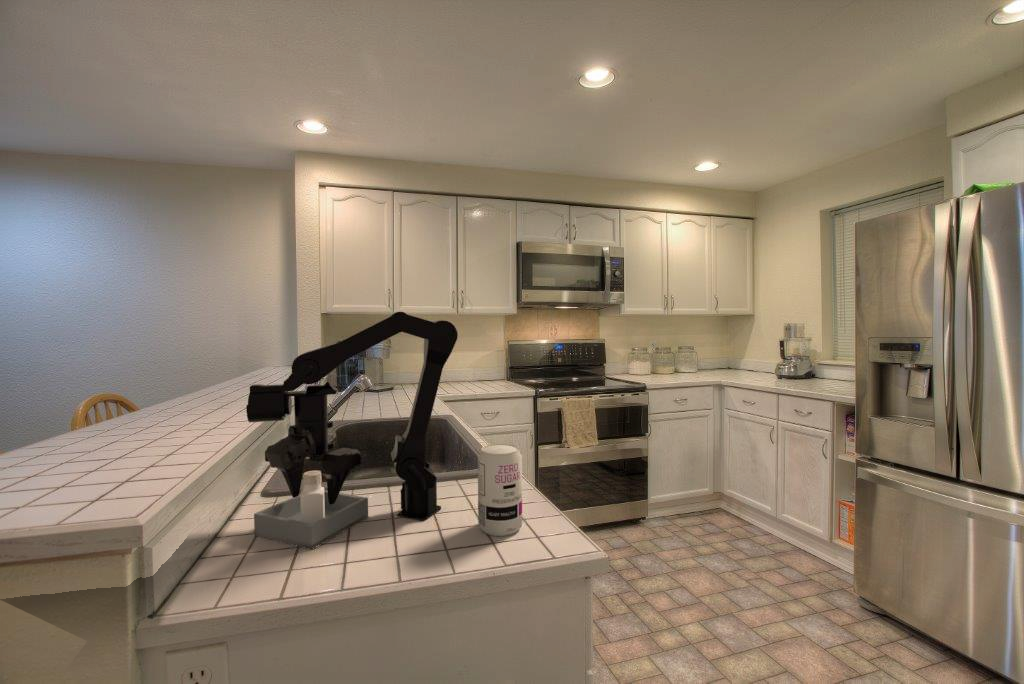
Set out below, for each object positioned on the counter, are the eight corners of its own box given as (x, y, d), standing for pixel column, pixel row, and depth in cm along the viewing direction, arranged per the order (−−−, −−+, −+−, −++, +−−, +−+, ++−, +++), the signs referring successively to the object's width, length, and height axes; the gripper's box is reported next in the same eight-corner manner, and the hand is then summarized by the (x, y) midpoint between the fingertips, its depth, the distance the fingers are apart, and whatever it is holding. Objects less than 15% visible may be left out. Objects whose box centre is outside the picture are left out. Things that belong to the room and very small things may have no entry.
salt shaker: (324, 525, 86) (323, 475, 86) (300, 528, 85) (299, 477, 84) (324, 516, 90) (323, 468, 90) (302, 519, 89) (301, 471, 88)
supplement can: (496, 515, 92) (495, 440, 92) (530, 525, 88) (530, 447, 87) (469, 530, 86) (468, 450, 85) (505, 542, 81) (504, 457, 80)
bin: (368, 517, 91) (367, 497, 91) (312, 549, 79) (311, 526, 78) (315, 507, 97) (314, 488, 97) (254, 535, 84) (254, 513, 84)
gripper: (237, 423, 83) (239, 508, 84) (315, 432, 76) (317, 525, 76) (288, 412, 93) (290, 488, 94) (362, 419, 86) (363, 501, 87)
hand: (313, 500), depth 88 cm, fingers open, 9 cm apart
